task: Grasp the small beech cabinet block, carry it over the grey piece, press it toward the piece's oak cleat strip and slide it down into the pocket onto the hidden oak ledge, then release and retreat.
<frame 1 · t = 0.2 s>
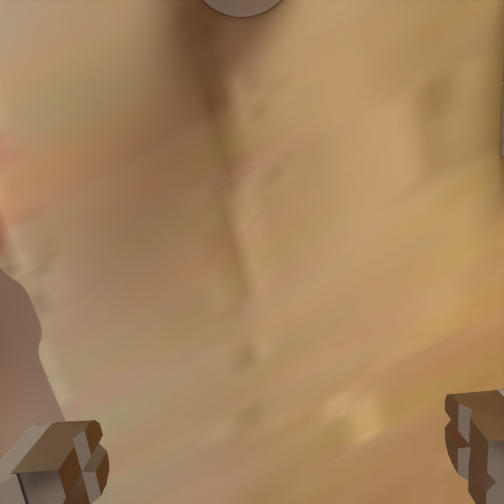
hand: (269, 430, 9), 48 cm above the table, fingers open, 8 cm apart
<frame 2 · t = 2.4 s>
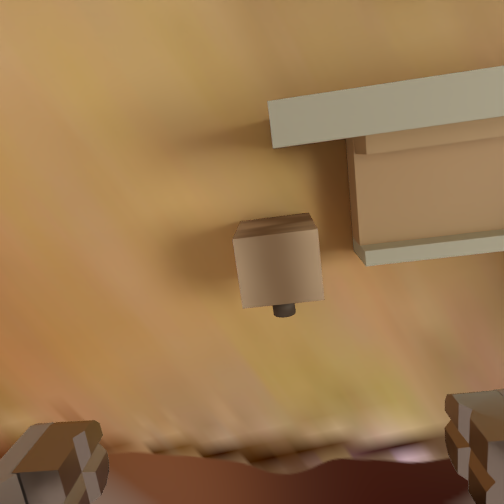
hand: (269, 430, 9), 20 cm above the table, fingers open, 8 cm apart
grey piece: (435, 110, 26), on the table
cabinet block: (277, 245, 29), on the table
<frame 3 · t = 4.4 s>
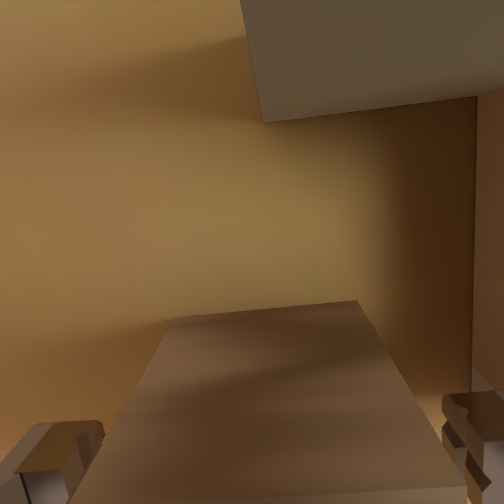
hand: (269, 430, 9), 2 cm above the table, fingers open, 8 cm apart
cabinet block: (272, 379, 11), on the table
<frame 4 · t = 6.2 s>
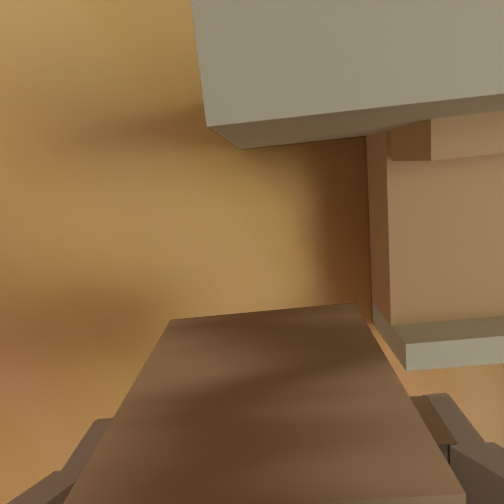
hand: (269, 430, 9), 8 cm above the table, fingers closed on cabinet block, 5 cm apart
cabinet block: (269, 383, 11), point 6 cm above the table, touching gripper
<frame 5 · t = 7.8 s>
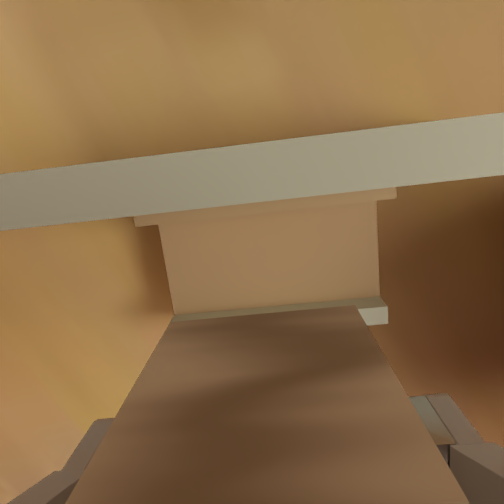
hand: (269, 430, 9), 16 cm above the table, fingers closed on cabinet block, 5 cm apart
grey piece: (261, 164, 23), on the table
cabinet block: (269, 385, 11), point 14 cm above the table, touching gripper
when the fingers open (5 cm above the table, at t = 10.5 s): cabinet block stays where it is, resting on grey piece.
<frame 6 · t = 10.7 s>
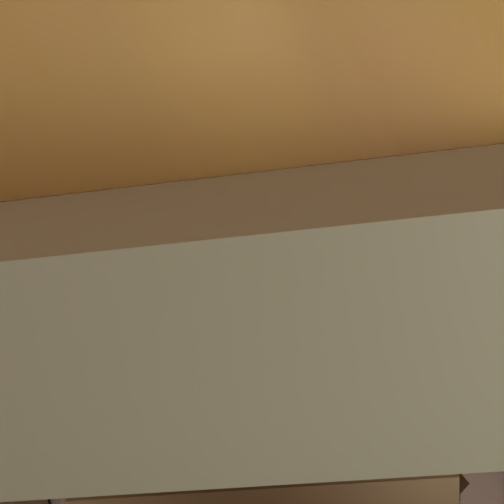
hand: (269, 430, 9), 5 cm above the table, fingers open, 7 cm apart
grey piece: (253, 204, 13), on the table
cabinet block: (270, 378, 11), point 2 cm above the table, touching grey piece
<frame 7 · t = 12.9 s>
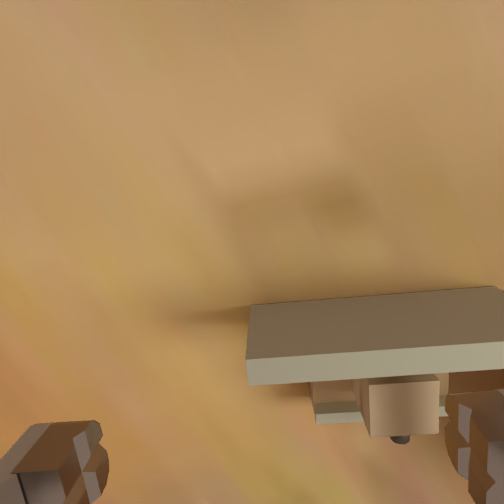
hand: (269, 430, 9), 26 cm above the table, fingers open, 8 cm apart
grey piece: (370, 306, 36), on the table
cabinet block: (380, 366, 34), point 2 cm above the table, touching grey piece
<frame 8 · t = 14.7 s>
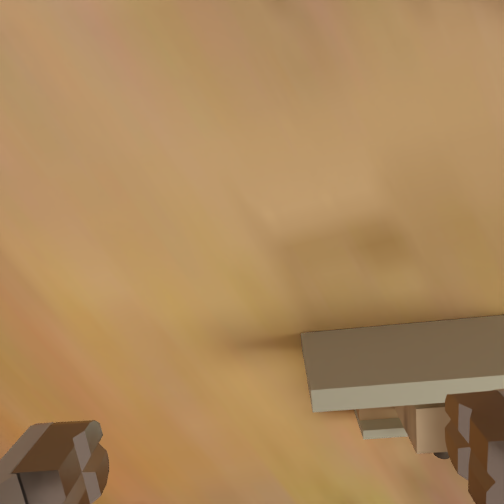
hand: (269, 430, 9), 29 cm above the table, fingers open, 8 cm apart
grey piece: (409, 332, 39), on the table
cabinet block: (419, 387, 38), point 2 cm above the table, touching grey piece
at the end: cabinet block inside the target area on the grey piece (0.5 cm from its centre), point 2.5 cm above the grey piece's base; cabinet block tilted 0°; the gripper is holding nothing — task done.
